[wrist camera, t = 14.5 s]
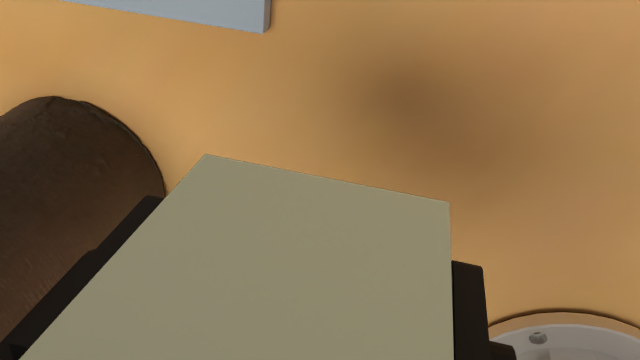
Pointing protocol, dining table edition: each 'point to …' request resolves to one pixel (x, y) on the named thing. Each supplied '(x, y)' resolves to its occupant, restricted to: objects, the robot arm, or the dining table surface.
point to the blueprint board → (199, 11)
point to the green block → (268, 275)
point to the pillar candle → (61, 193)
